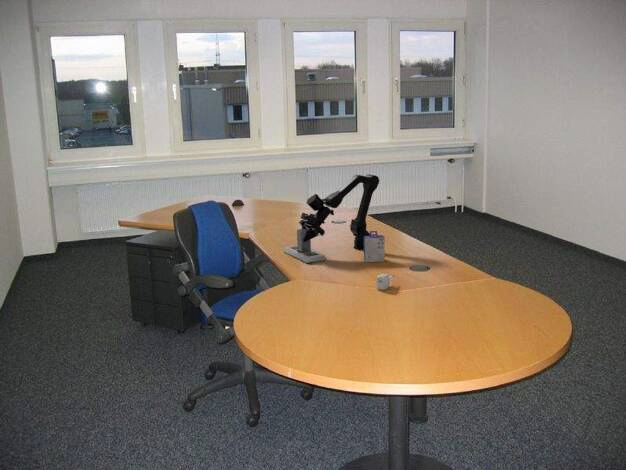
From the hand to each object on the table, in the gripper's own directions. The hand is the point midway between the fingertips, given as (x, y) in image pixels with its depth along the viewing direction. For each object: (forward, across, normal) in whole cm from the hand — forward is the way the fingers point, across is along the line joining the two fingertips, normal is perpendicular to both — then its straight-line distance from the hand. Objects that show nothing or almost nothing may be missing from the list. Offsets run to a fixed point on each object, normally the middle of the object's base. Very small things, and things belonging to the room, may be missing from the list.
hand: (301, 240), depth 306 cm
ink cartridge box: (-13, +25, +25) cm, 38 cm away
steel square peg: (+4, 0, +6) cm, 7 cm away
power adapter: (0, +63, +12) cm, 64 cm away
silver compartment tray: (+5, 0, +7) cm, 9 cm away
